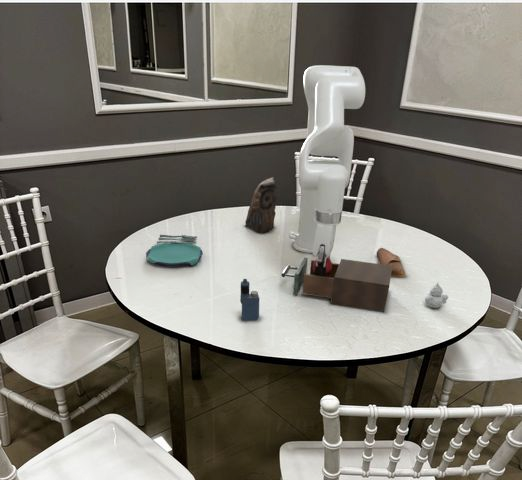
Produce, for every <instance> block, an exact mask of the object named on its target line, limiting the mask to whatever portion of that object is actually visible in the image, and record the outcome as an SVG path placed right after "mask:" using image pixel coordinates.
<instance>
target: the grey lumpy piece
mask: <svg viewBox="0 0 522 480" xmlns="http://www.w3.org/2000/svg"><path fill="white" fill-rule="evenodd" d="M448 299H449V295H448V294H444V290H443V288H442V287H441V286H440V284H439V282H436V284H435V285H434V286H433V287H431V289H430V290H429V293H428V294H427V295H426V296H425V298H424V302H425V304H426V305H427V306H428V307H430V308H432V309H433V308H435V309H438V308H441V307H442V305H443V304H447V300H448Z"/></svg>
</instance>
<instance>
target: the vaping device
mask: <svg viewBox="0 0 522 480" xmlns="http://www.w3.org/2000/svg"><path fill="white" fill-rule="evenodd" d="M239 297H240V299H239V301H240V304H241V316H240V317H241V321H243V322H245V321H246V322H248V321H249V322H251V321H252V322H253V321H255V322H256V321H258V320H259V318H260V295H259V291H257V290H251V291H250V281H249V280H248V278H243V279H242V280H241V282H240V296H239Z"/></svg>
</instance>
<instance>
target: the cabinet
mask: <svg viewBox="0 0 522 480" xmlns="http://www.w3.org/2000/svg"><path fill="white" fill-rule="evenodd" d="M338 264H339V266H338V269H337V271H336V274H335V276H334V282H333V290H332V298H330V305H334V306H340V307H346V308H347V307H348V308H353V309H359V310H366V311H372V312H379V313H385V311H386V306H387V301H388V295H389V290H390V285H391V279H392V277H391V272H392V266H390V265H383V264H380V263H375V262H367V261H360V260H354V259H347V258H346V259H345V258H340V261H339V263H338Z"/></svg>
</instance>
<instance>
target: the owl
mask: <svg viewBox="0 0 522 480" xmlns="http://www.w3.org/2000/svg"><path fill="white" fill-rule="evenodd" d="M277 188H278V186H277V183H276V181H275V178H274V176H272V177H270V178H267V179H264V180H263V181H261V182H260V183H259V184H258V186H257V187H256V188H255V190H254V193H253V196H252V199H251V202H250V204H249V208H248V211H247V214H246V215H247V216H246V218H245V226H244V227H246V228H248V229H249V230H252V231H253V232H255V233H256V234H261V235H264V234H269V233H271V231H273V229H274V227H275V226H274V225H275V218H276V207H277V196H276V189H277Z"/></svg>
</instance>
